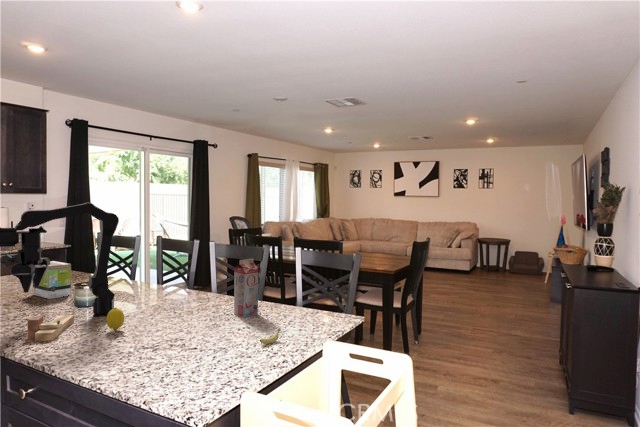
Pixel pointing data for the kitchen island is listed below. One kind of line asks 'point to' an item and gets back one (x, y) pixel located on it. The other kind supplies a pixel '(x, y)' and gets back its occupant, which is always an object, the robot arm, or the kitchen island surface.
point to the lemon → (115, 318)
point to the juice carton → (246, 288)
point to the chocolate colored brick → (39, 325)
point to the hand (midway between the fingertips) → (31, 289)
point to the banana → (270, 339)
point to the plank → (54, 332)
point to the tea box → (55, 281)
